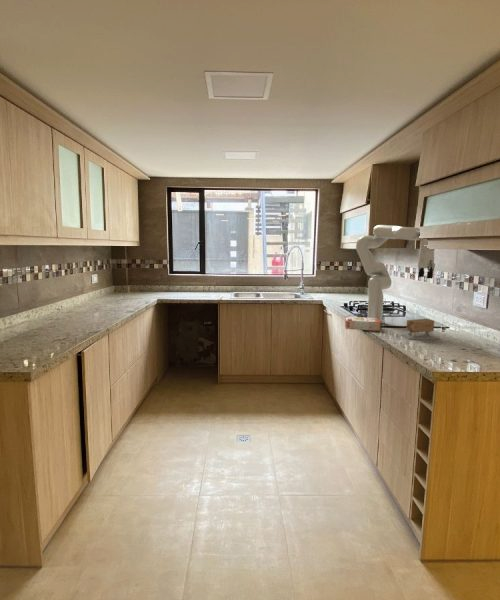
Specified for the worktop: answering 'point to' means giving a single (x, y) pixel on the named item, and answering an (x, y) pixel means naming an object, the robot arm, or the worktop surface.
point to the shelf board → (420, 325)
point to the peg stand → (420, 336)
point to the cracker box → (362, 323)
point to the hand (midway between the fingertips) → (425, 277)
